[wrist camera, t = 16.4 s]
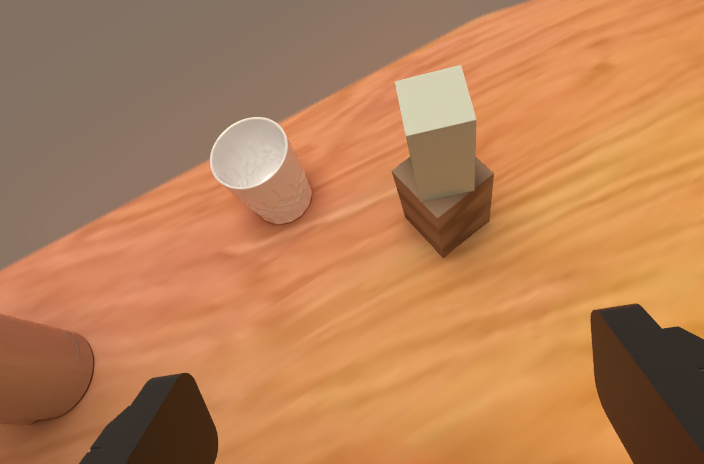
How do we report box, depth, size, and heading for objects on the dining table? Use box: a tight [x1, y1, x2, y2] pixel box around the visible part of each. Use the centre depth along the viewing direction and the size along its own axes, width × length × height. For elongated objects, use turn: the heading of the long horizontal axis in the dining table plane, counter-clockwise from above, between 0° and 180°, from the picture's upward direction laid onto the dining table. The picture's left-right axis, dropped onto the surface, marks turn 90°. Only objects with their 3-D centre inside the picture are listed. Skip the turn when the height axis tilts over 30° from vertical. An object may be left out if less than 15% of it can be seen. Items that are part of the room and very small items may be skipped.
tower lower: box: [400, 198, 491, 258], centre depth 48 cm, size 6×6×5 cm
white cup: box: [210, 117, 312, 224], centre depth 51 cm, size 8×8×10 cm
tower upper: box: [392, 157, 494, 240], centre depth 43 cm, size 6×6×5 cm
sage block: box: [395, 65, 476, 202], centre depth 36 cm, size 4×4×10 cm
